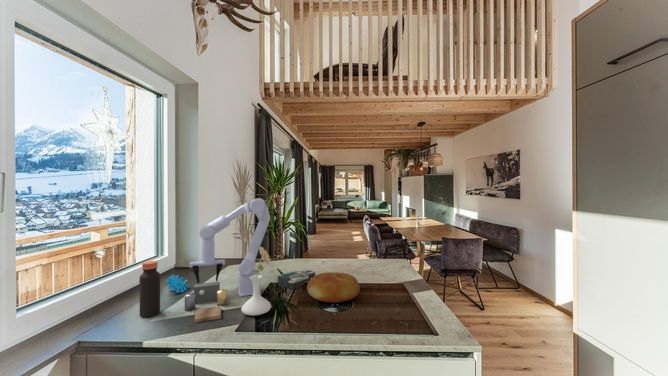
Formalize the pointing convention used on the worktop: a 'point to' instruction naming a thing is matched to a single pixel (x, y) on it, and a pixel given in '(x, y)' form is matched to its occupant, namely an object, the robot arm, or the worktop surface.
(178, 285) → the blue bumpy lump
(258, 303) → the flower in vase
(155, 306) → the bottle
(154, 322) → the worktop surface
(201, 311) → the walnut pad
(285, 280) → the communication device
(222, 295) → the brass fitting
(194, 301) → the steel fitting
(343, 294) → the bread
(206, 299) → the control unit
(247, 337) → the worktop surface
